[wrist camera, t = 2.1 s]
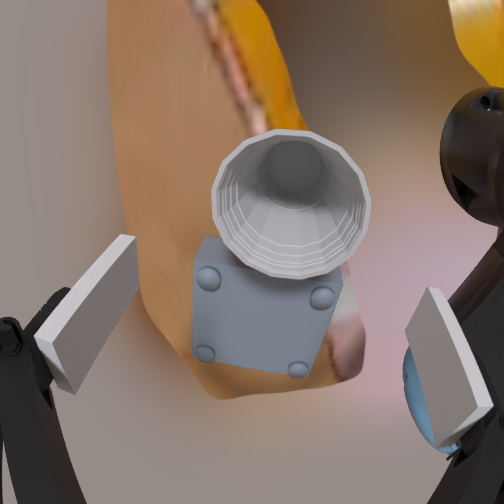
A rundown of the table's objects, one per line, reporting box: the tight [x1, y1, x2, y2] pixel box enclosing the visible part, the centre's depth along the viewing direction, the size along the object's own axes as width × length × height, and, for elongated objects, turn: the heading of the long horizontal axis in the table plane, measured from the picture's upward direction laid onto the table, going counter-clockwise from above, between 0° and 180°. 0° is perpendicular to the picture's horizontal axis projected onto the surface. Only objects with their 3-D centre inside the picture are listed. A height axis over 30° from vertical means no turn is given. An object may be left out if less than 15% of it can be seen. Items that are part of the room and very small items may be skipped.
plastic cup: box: [211, 129, 372, 280], centre depth 26 cm, size 11×11×12 cm
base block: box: [192, 236, 343, 378], centre depth 37 cm, size 15×15×6 cm
